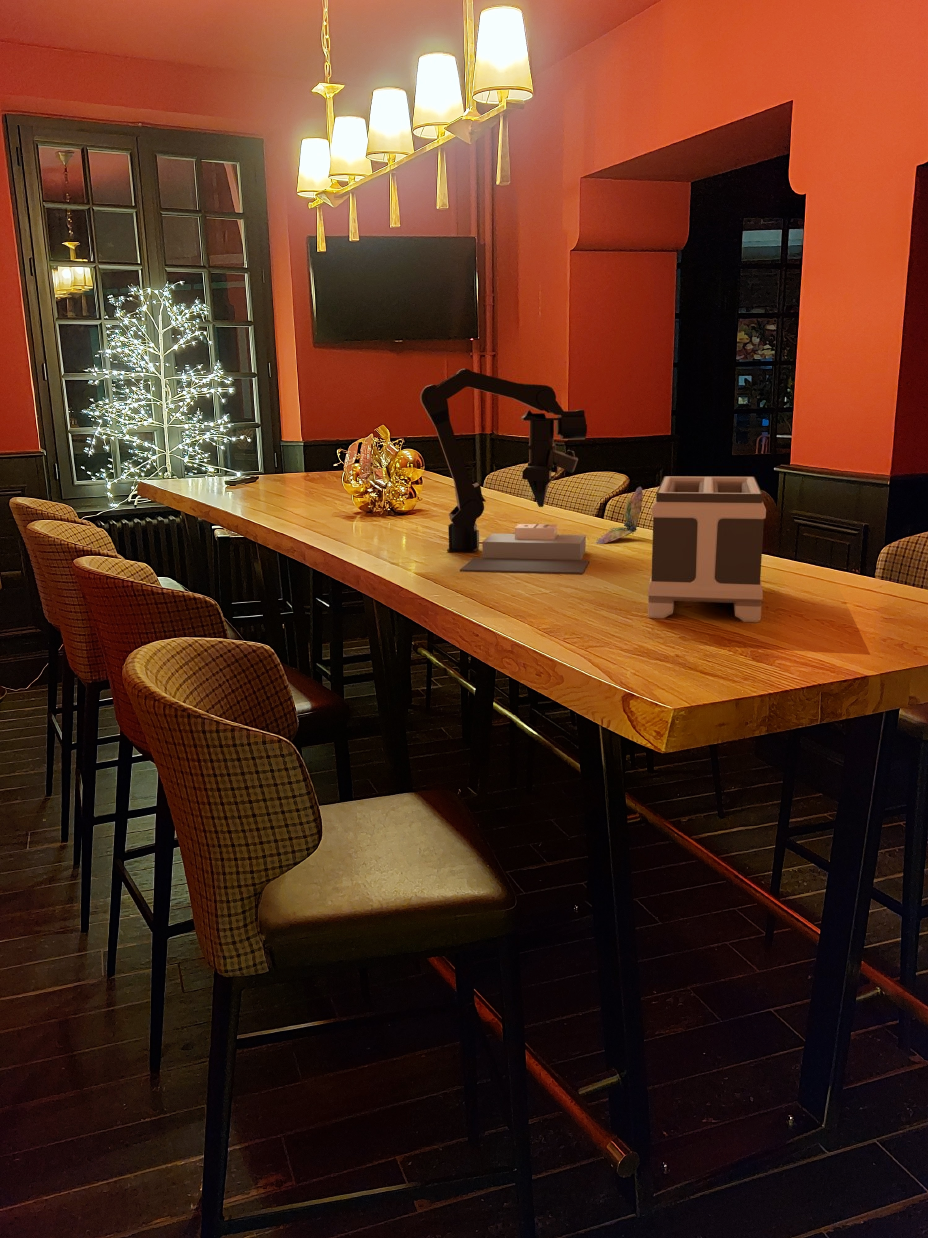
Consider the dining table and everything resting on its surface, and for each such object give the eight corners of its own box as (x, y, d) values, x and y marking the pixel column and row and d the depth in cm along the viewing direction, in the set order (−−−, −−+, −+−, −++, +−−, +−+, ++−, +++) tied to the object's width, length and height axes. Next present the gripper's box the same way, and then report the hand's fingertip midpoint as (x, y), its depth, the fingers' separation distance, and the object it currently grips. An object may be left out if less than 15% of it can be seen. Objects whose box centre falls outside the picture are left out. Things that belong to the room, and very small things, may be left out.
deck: (482, 559, 216) (482, 541, 215) (492, 550, 227) (492, 533, 226) (580, 561, 211) (580, 543, 210) (585, 551, 222) (585, 534, 221)
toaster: (752, 582, 187) (758, 474, 182) (761, 624, 155) (769, 494, 150) (656, 579, 192) (660, 473, 187) (646, 619, 159) (650, 493, 154)
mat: (459, 571, 203) (459, 569, 203) (473, 559, 216) (473, 557, 216) (582, 574, 197) (582, 572, 197) (589, 561, 210) (589, 560, 210)
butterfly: (646, 492, 243) (619, 473, 238) (666, 503, 235) (638, 484, 230) (609, 550, 246) (581, 532, 241) (627, 562, 237) (599, 544, 233)
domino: (514, 538, 218) (514, 527, 217) (518, 534, 224) (518, 523, 223) (553, 539, 216) (553, 527, 216) (557, 535, 222) (557, 524, 221)
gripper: (571, 442, 213) (570, 512, 217) (580, 437, 230) (579, 502, 234) (522, 442, 215) (522, 511, 219) (534, 437, 233) (534, 501, 237)
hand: (541, 506), depth 227 cm, fingers closed
